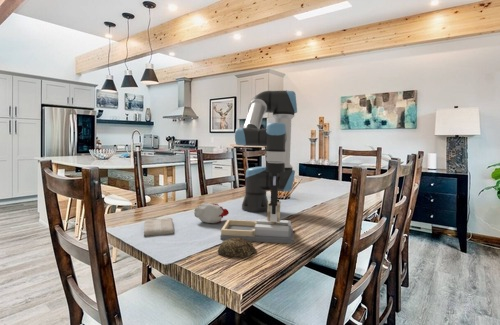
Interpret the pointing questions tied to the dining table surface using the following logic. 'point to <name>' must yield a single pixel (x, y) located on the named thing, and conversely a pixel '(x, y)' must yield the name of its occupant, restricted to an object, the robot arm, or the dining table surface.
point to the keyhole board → (258, 231)
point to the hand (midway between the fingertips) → (273, 219)
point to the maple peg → (277, 213)
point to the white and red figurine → (210, 213)
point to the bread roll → (236, 248)
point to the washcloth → (158, 226)
